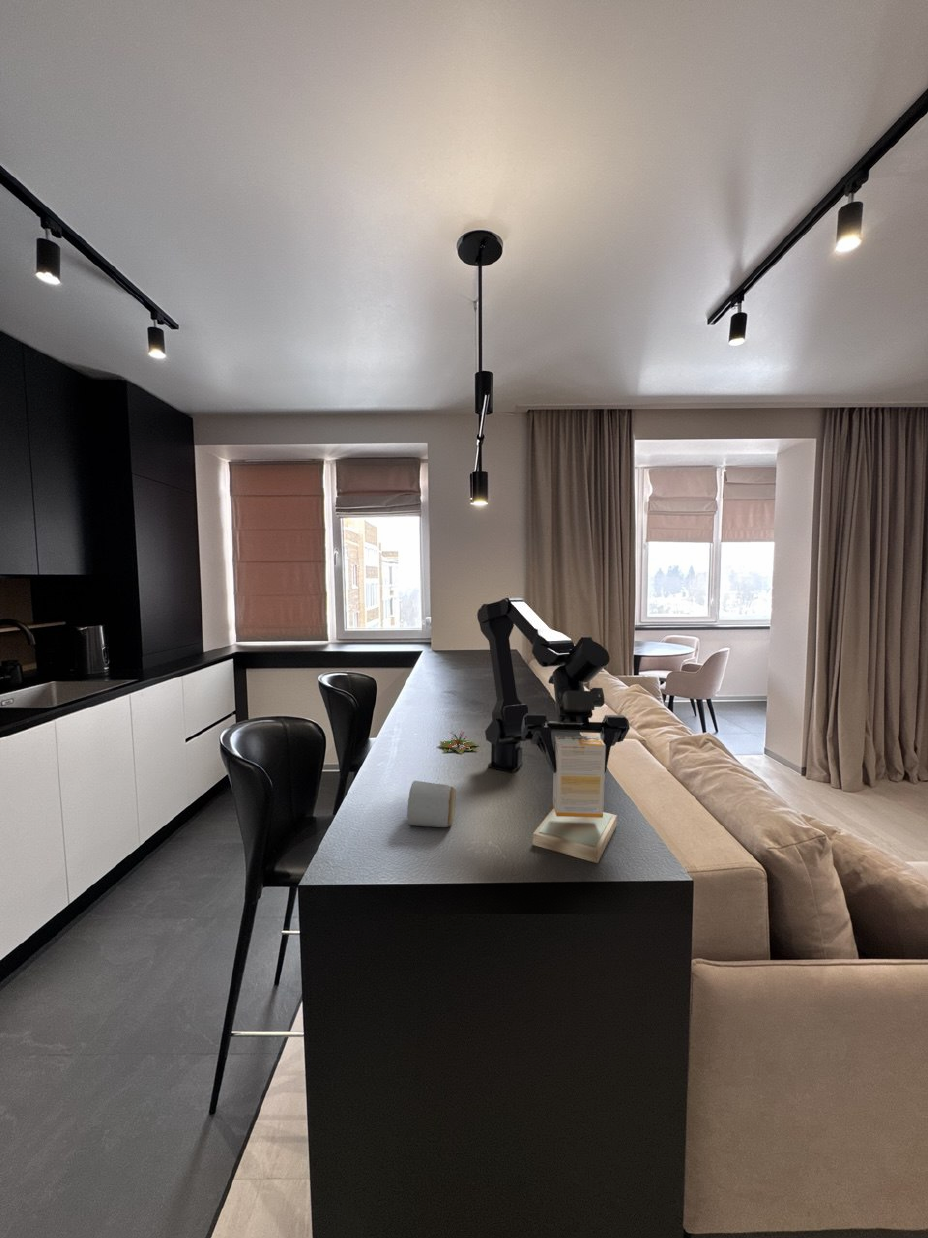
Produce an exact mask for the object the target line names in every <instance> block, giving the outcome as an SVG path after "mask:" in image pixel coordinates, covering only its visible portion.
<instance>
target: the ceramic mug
mask: <svg viewBox="0 0 928 1238" xmlns="http://www.w3.org/2000/svg"><path fill="white" fill-rule="evenodd" d="M456 793H457V792H456V789H455V787H453V786H451V785H449V784H448V785H447V784H443V783H435V782H428V781H427V782H426V781H421V780H420V781H419V780H413V781H412V783H411V786H410V788H409V794H408V799H407V810H406V819H407V820H406V821H407V822H406V823H407V824H408V825H409V826H418V827H420V826H422V827H434V828H438V827H439V828H447V827H448V828H449V827H451V826H452V824H454V823H453V822H454V817H455V809H456V797H457V796H456Z"/></svg>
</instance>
